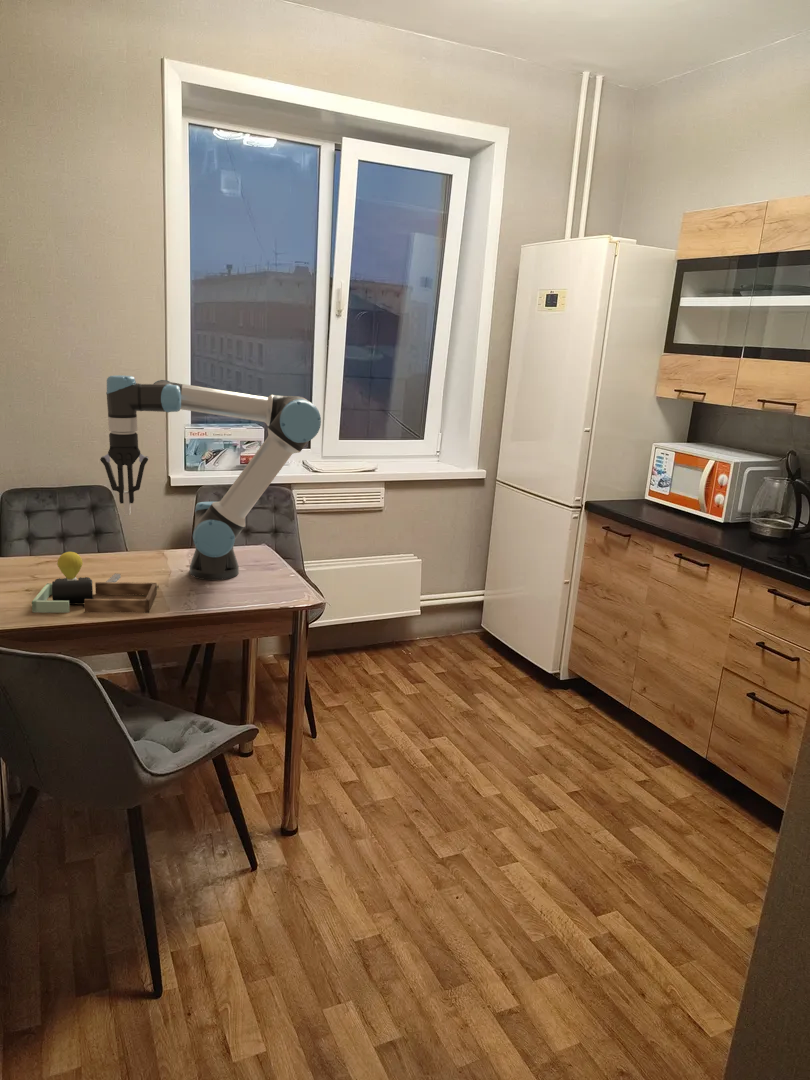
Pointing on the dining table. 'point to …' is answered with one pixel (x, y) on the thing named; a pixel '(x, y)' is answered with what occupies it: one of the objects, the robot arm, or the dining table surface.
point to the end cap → (72, 590)
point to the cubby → (122, 604)
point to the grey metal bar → (114, 578)
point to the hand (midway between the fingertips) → (127, 514)
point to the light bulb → (70, 565)
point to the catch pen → (48, 602)
